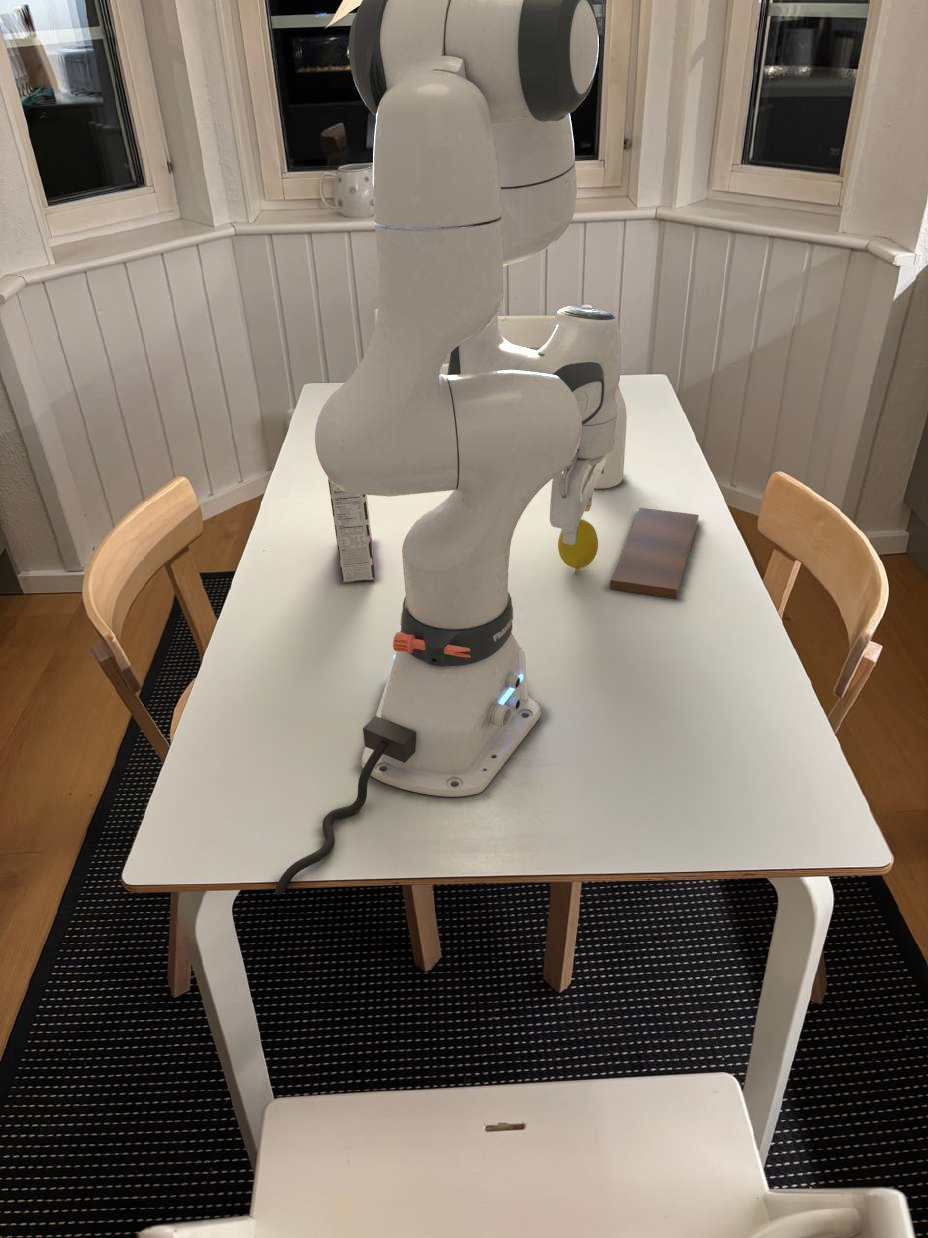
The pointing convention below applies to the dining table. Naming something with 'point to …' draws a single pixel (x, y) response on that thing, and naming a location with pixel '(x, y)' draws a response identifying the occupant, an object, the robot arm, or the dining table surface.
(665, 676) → the dining table surface
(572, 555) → the lemon
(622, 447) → the milk bottle
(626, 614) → the dining table surface
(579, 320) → the robot arm
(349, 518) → the candy bar box
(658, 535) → the serving board
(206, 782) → the dining table surface
